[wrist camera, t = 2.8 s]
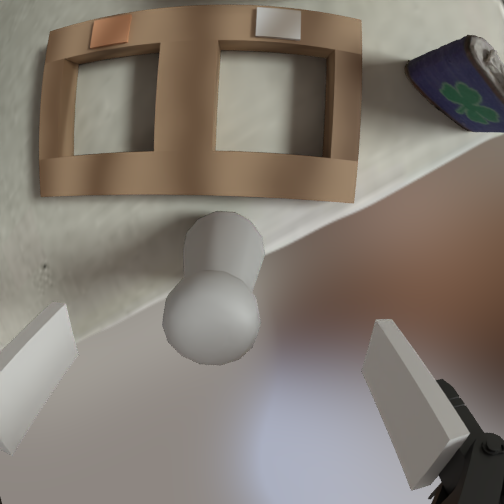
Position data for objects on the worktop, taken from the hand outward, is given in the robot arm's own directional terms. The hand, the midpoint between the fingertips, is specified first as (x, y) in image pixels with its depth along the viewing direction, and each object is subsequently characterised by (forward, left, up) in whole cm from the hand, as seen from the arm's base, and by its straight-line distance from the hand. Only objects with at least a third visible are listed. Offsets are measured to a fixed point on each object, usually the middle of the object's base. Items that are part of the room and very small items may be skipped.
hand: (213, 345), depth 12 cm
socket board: (-3, +11, -13) cm, 18 cm away
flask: (+18, +14, -14) cm, 26 cm away
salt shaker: (0, 0, -14) cm, 14 cm away
